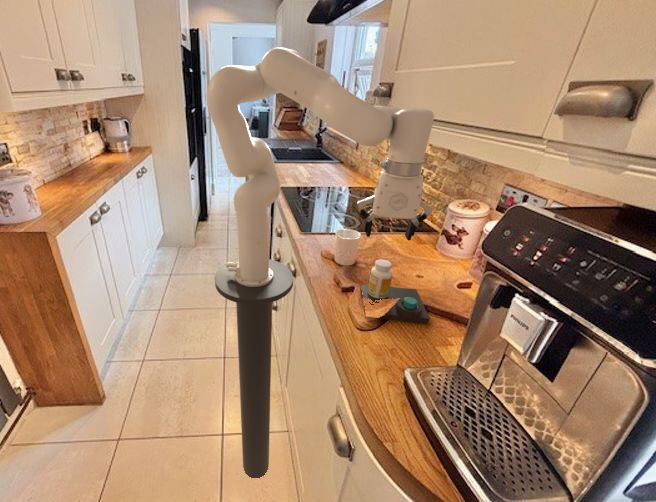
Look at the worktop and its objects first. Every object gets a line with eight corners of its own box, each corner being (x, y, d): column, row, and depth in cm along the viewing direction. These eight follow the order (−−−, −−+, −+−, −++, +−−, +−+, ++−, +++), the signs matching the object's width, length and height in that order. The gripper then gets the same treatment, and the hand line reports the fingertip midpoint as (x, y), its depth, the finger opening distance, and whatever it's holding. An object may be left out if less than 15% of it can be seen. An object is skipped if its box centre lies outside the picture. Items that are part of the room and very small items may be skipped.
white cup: (347, 253, 114) (351, 227, 109) (361, 264, 107) (366, 236, 103) (328, 257, 111) (331, 231, 107) (341, 268, 105) (345, 240, 100)
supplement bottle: (388, 290, 91) (395, 260, 86) (386, 301, 86) (393, 269, 82) (369, 286, 93) (374, 256, 88) (365, 296, 89) (371, 265, 84)
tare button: (404, 309, 81) (405, 303, 80) (401, 301, 84) (403, 296, 83) (417, 310, 81) (418, 304, 80) (414, 303, 83) (415, 297, 82)
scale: (365, 318, 83) (367, 307, 81) (360, 289, 94) (362, 279, 93) (428, 325, 80) (432, 314, 79) (414, 294, 92) (417, 283, 90)
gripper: (365, 170, 72) (353, 239, 80) (449, 174, 69) (428, 246, 77) (361, 162, 78) (350, 227, 86) (438, 166, 76) (419, 233, 84)
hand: (387, 236), depth 82 cm, fingers open, 9 cm apart
